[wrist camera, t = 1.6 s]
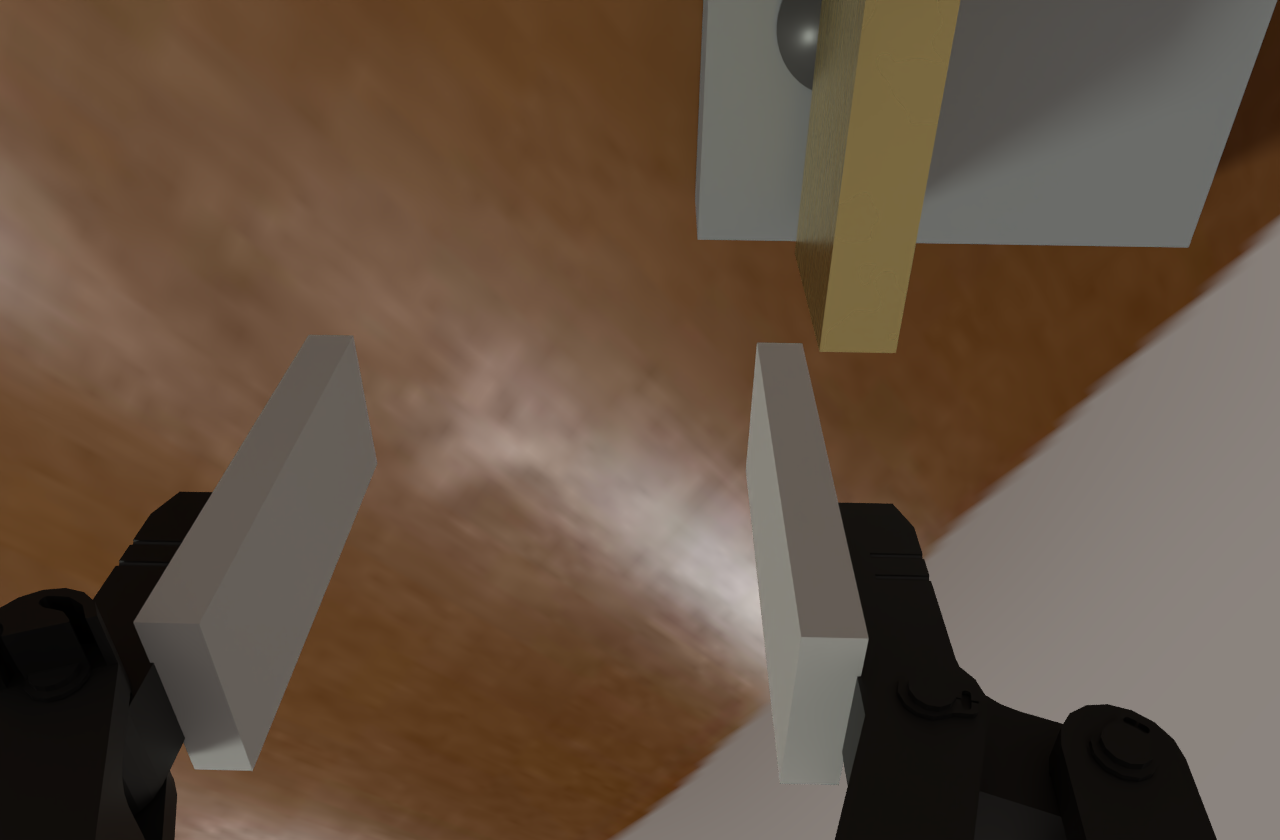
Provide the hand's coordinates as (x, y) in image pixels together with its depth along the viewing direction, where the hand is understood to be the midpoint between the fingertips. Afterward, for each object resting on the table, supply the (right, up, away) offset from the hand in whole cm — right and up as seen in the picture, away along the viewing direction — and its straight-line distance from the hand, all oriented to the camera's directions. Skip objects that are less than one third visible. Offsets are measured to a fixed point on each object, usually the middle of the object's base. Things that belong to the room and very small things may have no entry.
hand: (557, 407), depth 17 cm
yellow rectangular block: (+7, +11, +11) cm, 17 cm away
